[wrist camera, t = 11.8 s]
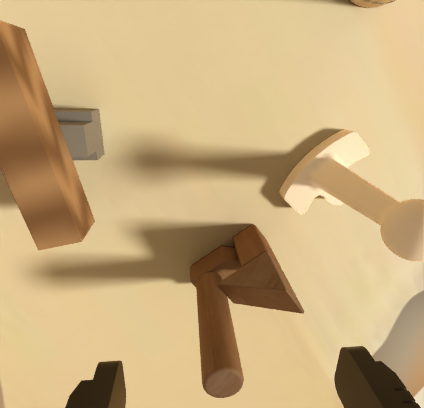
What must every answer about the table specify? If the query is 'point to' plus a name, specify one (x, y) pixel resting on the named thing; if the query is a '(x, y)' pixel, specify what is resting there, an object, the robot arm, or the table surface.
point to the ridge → (81, 132)
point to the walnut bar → (37, 149)
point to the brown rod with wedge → (240, 294)
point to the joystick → (355, 193)
